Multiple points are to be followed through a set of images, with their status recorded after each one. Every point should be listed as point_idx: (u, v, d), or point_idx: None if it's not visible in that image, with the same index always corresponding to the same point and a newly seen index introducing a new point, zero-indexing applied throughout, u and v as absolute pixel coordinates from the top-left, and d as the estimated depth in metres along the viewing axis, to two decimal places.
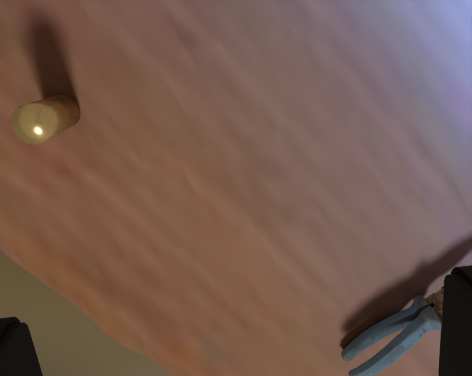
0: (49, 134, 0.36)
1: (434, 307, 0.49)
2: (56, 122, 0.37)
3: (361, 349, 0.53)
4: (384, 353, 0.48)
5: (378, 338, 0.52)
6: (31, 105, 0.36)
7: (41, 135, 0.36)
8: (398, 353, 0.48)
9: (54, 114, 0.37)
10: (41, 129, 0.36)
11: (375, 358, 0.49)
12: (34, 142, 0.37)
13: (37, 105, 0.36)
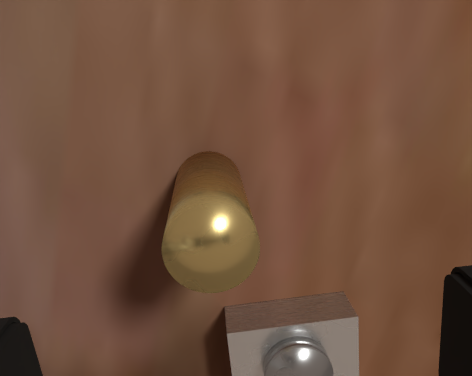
0: (196, 208, 0.14)
1: None
2: (173, 211, 0.15)
3: None
4: None
5: None
6: (178, 278, 0.15)
7: (212, 217, 0.14)
8: None
9: (166, 223, 0.16)
10: (201, 228, 0.15)
11: None
12: (239, 216, 0.14)
13: None
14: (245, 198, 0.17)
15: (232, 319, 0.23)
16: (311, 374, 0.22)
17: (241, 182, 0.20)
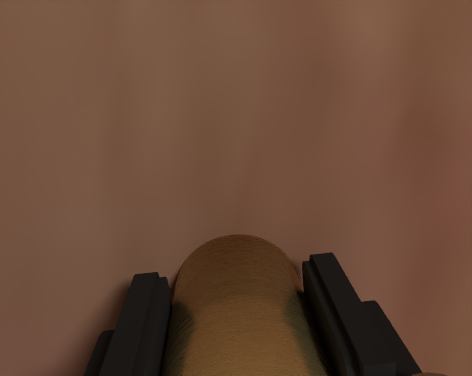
0: None
1: None
2: None
3: None
4: None
5: None
6: None
7: None
8: None
9: None
10: None
11: None
12: None
13: None
14: None
15: None
16: None
17: (313, 322, 0.09)
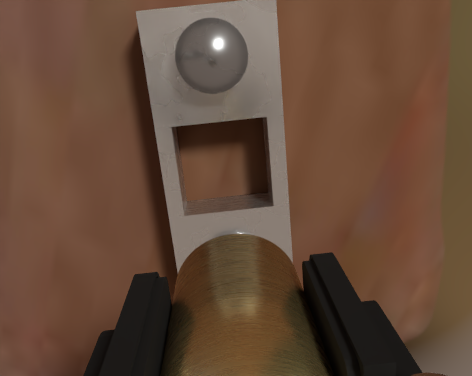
0: None
1: None
2: None
3: None
4: None
5: None
6: None
7: None
8: None
9: None
10: None
11: None
12: None
13: None
14: None
15: None
16: (224, 53, 0.21)
17: (313, 321, 0.09)
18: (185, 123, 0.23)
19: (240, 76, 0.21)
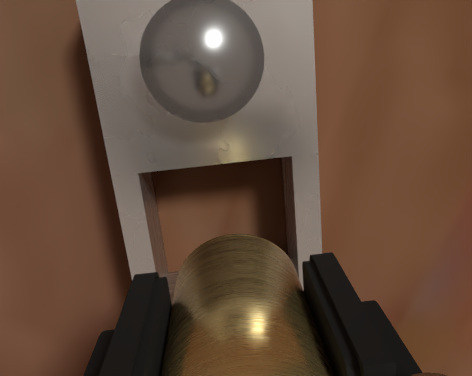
0: None
1: None
2: None
3: None
4: None
5: None
6: None
7: None
8: None
9: None
10: None
11: None
12: None
13: None
14: None
15: None
16: (224, 55, 0.12)
17: (314, 321, 0.09)
18: (161, 167, 0.14)
19: (251, 93, 0.13)
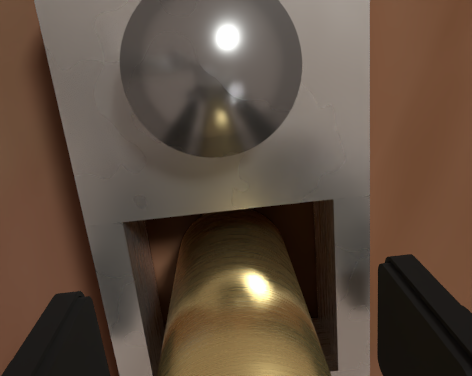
0: None
1: None
2: None
3: None
4: None
5: None
6: None
7: None
8: None
9: None
10: None
11: None
12: None
13: None
14: (314, 335, 0.09)
15: None
16: (243, 61, 0.08)
17: (294, 274, 0.11)
18: (153, 214, 0.10)
19: (282, 116, 0.09)
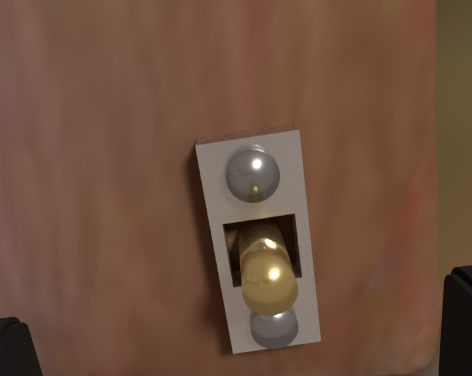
0: (261, 269, 0.25)
1: None
2: (247, 268, 0.26)
3: None
4: None
5: None
6: (251, 308, 0.26)
7: (270, 274, 0.25)
8: None
9: (242, 275, 0.27)
10: (264, 280, 0.26)
11: None
12: (286, 273, 0.25)
13: None
14: (287, 255, 0.28)
15: (201, 141, 0.30)
16: (262, 174, 0.28)
17: (283, 240, 0.31)
18: (233, 221, 0.30)
19: (274, 189, 0.29)
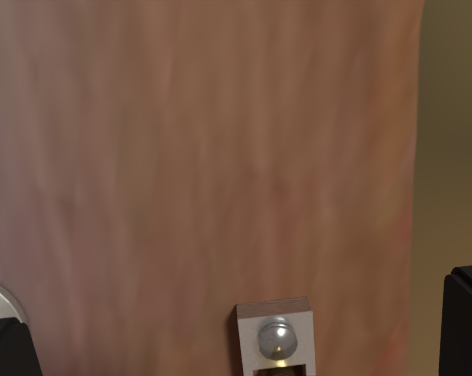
0: None
1: None
2: None
3: None
4: None
5: None
6: None
7: None
8: None
9: None
10: None
11: None
12: None
13: None
14: None
15: (240, 311, 0.41)
16: (285, 343, 0.39)
17: None
18: (260, 368, 0.41)
19: (293, 352, 0.40)
